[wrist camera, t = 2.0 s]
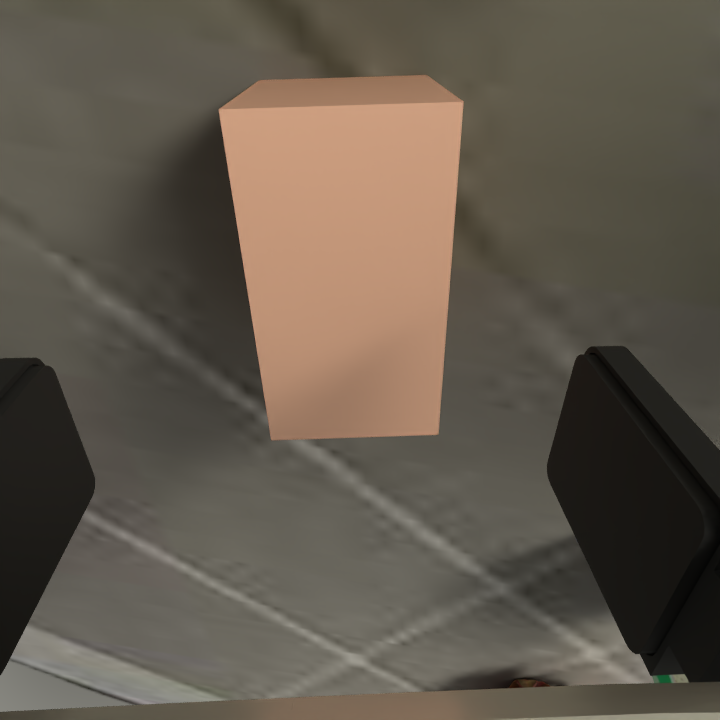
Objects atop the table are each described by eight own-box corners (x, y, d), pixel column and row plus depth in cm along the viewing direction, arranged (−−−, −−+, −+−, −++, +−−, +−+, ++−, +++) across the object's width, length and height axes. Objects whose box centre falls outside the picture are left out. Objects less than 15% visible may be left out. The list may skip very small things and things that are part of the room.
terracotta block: (426, 74, 16) (463, 101, 11) (416, 333, 21) (438, 434, 16) (259, 80, 16) (218, 109, 11) (289, 337, 21) (271, 440, 16)
